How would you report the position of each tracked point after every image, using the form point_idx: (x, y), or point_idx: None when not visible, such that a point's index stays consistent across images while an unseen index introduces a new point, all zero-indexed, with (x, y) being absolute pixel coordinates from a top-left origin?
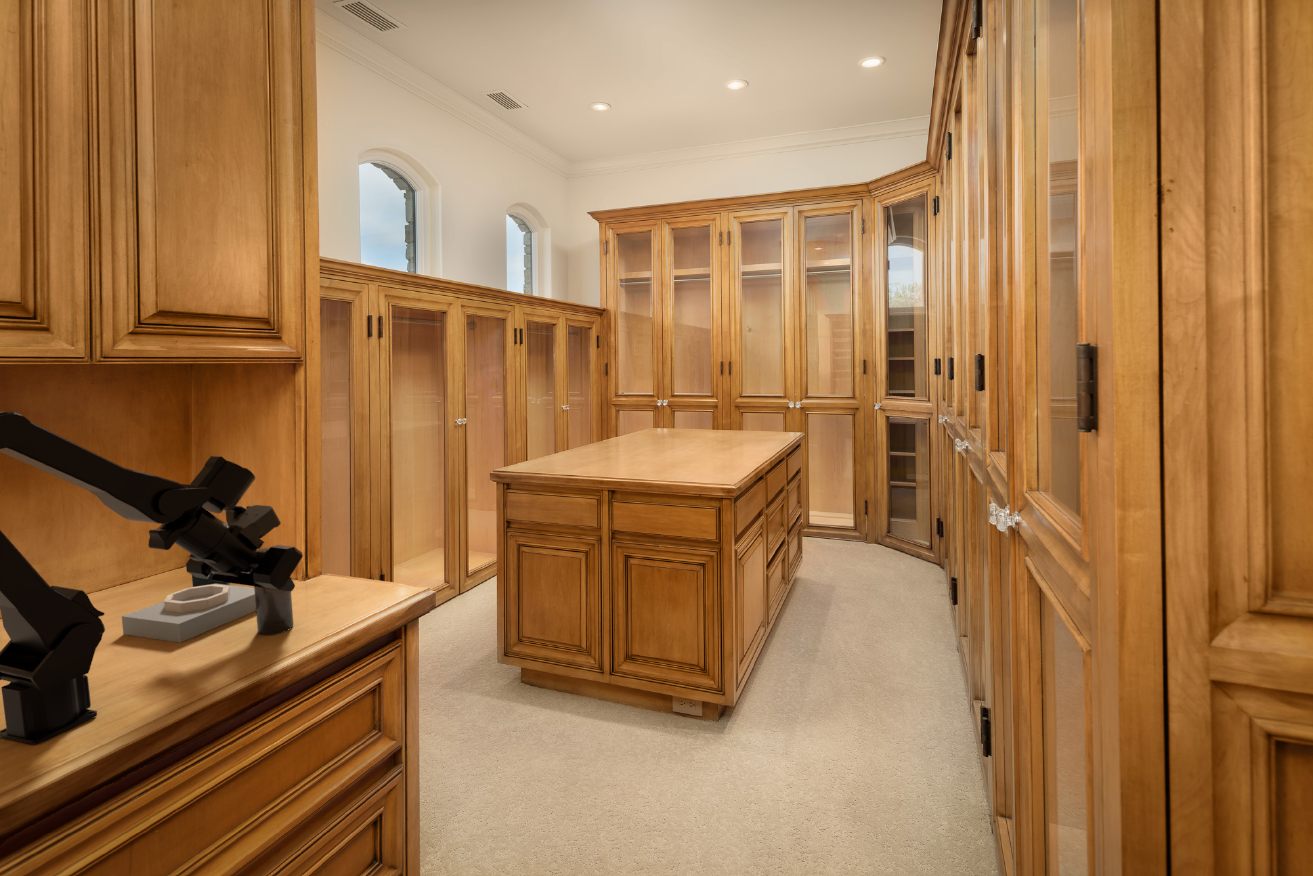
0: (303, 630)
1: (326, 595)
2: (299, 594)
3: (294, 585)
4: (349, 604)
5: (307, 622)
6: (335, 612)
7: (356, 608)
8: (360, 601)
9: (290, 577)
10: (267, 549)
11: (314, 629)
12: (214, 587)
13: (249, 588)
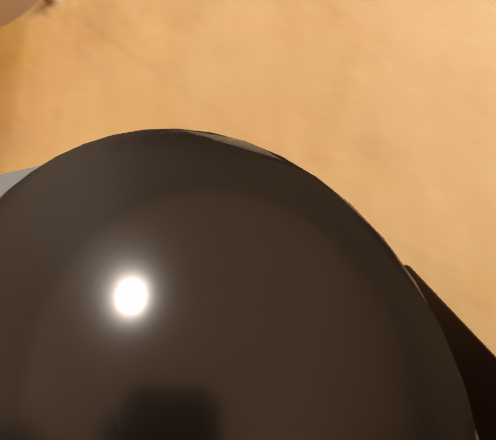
0: (444, 295)
1: (210, 36)
2: (122, 75)
3: (412, 271)
4: (366, 42)
5: (376, 229)
6: (389, 115)
7: (434, 51)
8: (380, 4)
9: (472, 333)
10: (2, 357)
11: (482, 271)
12: None
13: (7, 182)
